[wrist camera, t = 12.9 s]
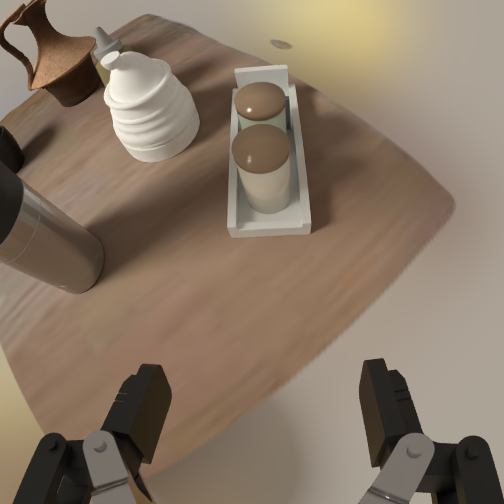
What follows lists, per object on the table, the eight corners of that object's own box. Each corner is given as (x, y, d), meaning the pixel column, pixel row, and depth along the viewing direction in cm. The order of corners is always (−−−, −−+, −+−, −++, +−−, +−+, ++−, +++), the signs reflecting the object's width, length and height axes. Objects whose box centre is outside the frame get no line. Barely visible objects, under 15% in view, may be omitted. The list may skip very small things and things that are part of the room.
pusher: (290, 129, 42) (289, 99, 37) (241, 133, 43) (234, 104, 38) (288, 106, 44) (286, 77, 39) (242, 110, 45) (235, 81, 39)
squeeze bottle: (168, 90, 51) (129, 11, 35) (145, 120, 48) (97, 37, 32) (136, 92, 53) (96, 21, 37) (113, 120, 50) (65, 48, 34)
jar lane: (310, 234, 38) (313, 206, 32) (232, 238, 40) (219, 212, 33) (295, 98, 47) (293, 64, 40) (236, 102, 48) (228, 69, 41)
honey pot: (174, 171, 44) (126, 86, 27) (112, 153, 47) (57, 82, 30) (213, 108, 47) (187, 19, 30) (151, 97, 50) (114, 21, 33)
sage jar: (240, 161, 42) (226, 110, 33) (254, 130, 44) (244, 79, 34) (281, 170, 41) (276, 118, 31) (293, 138, 42) (291, 85, 33)
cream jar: (239, 208, 39) (222, 161, 30) (254, 171, 41) (243, 119, 32) (283, 220, 38) (279, 173, 29) (297, 181, 40) (296, 129, 30)
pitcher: (66, 128, 53) (-8, 35, 26) (41, 109, 58) (-19, 34, 32) (126, 72, 56) (74, -28, 30) (92, 61, 61) (46, -19, 35)
